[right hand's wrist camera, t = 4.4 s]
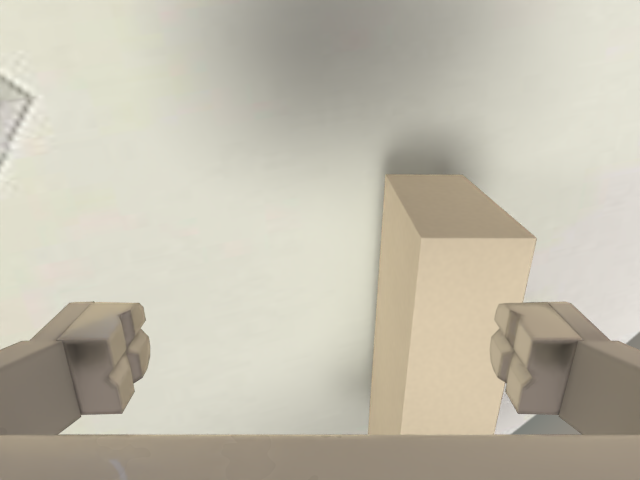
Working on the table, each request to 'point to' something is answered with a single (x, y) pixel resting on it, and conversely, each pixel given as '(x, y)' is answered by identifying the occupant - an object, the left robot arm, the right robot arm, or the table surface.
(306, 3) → the table surface
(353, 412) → the table surface
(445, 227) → the box
